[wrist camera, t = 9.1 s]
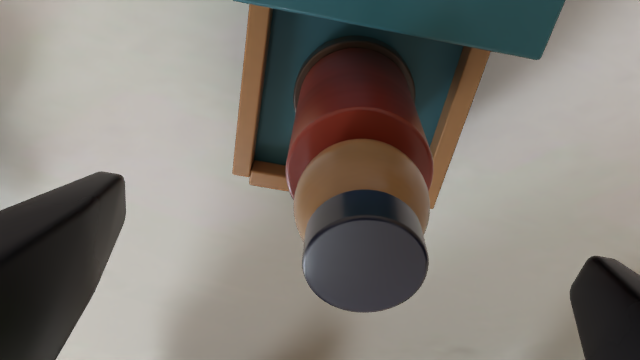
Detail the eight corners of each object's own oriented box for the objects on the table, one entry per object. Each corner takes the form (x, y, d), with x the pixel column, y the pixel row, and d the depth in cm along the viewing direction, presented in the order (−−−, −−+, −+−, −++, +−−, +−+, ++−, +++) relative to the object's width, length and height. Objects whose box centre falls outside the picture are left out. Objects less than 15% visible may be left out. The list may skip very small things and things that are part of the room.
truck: (418, 155, 21) (455, 280, 14) (247, 125, 20) (202, 239, 14) (529, -187, 15) (685, -250, 8) (289, -241, 14) (244, -355, 8)
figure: (434, 109, 16) (514, 293, 9) (337, 166, 17) (335, 368, 10) (372, 9, 14) (406, 129, 7) (270, 79, 15) (210, 243, 8)
